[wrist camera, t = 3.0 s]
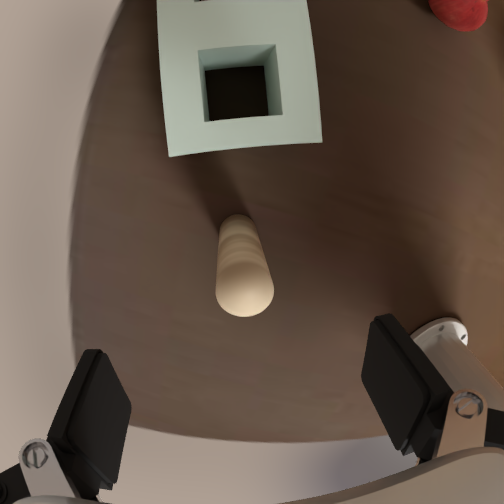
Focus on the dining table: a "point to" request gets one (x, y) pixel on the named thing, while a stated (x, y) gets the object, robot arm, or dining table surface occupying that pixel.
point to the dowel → (242, 269)
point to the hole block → (237, 55)
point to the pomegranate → (460, 13)
